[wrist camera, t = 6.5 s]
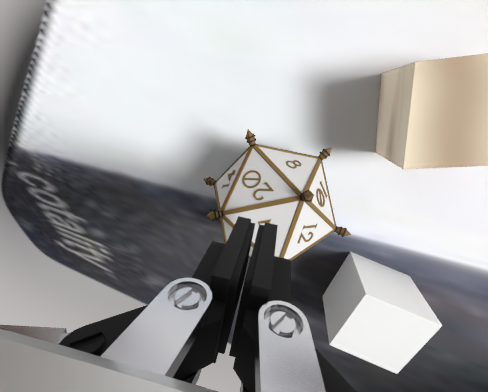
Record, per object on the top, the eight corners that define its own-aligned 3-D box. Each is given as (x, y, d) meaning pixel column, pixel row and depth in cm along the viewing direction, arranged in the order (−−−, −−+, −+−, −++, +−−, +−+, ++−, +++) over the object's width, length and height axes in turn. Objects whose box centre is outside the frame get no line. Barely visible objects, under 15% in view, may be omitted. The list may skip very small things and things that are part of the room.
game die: (256, 176, 24) (153, 183, 17) (329, 113, 18) (217, 84, 11) (300, 268, 21) (198, 319, 14) (401, 228, 16) (311, 281, 9)
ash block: (472, 63, 15) (549, 46, 11) (457, 147, 17) (518, 164, 12) (381, 73, 16) (415, 62, 12) (375, 152, 18) (403, 169, 13)
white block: (408, 275, 20) (442, 325, 16) (376, 318, 22) (396, 373, 18) (350, 251, 21) (366, 293, 16) (322, 295, 23) (329, 344, 18)
